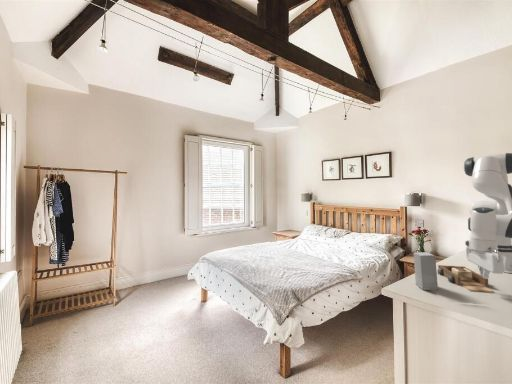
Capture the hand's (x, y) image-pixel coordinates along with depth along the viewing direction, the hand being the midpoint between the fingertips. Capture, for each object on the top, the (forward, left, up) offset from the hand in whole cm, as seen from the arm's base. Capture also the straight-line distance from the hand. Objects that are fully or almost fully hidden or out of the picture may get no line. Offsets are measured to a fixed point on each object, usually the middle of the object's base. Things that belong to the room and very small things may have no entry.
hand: (484, 277), depth 111 cm
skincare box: (+21, -3, -8) cm, 23 cm away
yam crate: (0, -18, -6) cm, 19 cm away
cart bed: (0, -19, -7) cm, 20 cm away
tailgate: (0, -7, -7) cm, 10 cm away
